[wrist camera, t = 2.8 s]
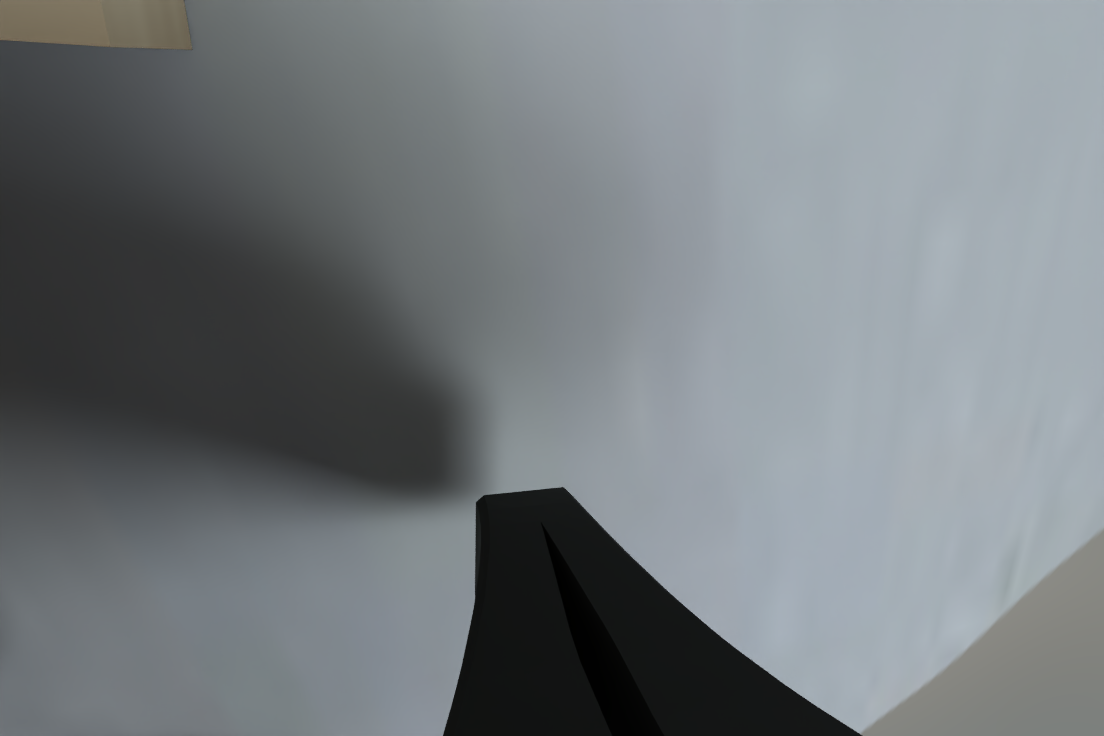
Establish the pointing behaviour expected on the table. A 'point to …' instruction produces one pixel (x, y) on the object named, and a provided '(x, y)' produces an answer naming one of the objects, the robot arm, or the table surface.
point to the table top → (97, 23)
